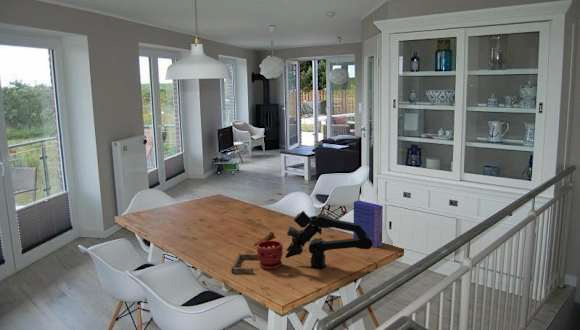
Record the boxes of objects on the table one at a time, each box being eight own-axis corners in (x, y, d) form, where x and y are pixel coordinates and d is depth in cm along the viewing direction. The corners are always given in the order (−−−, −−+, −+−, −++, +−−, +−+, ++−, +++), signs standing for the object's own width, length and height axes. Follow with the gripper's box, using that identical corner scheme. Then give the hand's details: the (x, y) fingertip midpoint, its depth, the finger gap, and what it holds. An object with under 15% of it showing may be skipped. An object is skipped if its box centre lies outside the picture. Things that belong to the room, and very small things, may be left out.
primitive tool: (261, 247, 271) (260, 241, 270) (252, 246, 273) (252, 240, 273) (275, 237, 288) (274, 231, 288) (267, 236, 291) (266, 230, 290)
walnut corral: (258, 258, 253) (258, 254, 252) (252, 273, 233) (252, 268, 232) (239, 258, 253) (238, 253, 253) (231, 273, 233) (231, 268, 233)
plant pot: (285, 262, 247) (285, 240, 245) (278, 271, 234) (278, 249, 232) (262, 260, 250) (261, 238, 248) (254, 269, 237) (253, 247, 235)
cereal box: (382, 245, 269) (382, 205, 264) (376, 247, 265) (377, 207, 261) (358, 238, 281) (359, 200, 277) (353, 240, 278) (353, 201, 274)
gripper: (297, 217, 246) (277, 237, 249) (295, 228, 228) (273, 249, 230) (312, 231, 247) (292, 251, 250) (311, 243, 228) (289, 265, 231)
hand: (286, 254), depth 240 cm, fingers open, 9 cm apart
